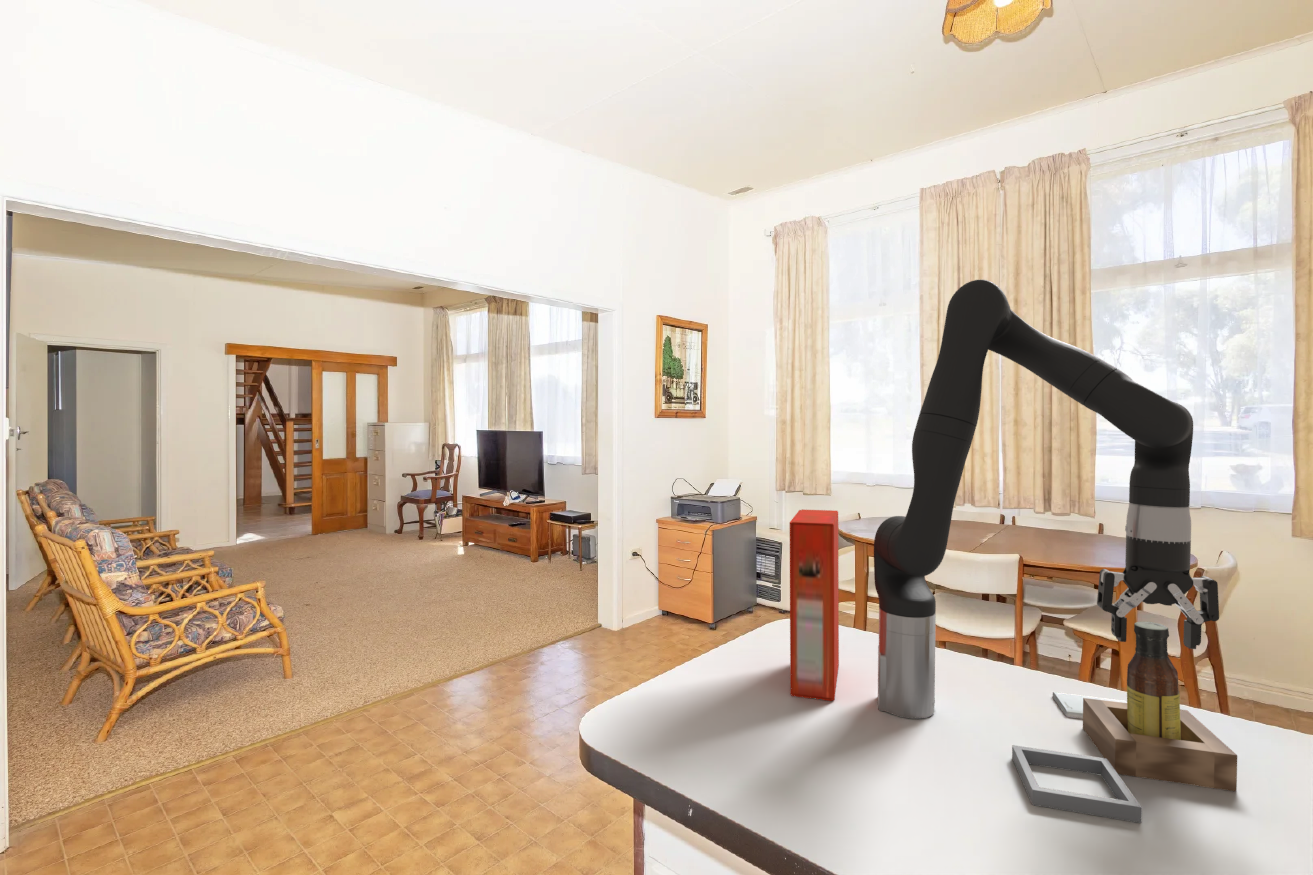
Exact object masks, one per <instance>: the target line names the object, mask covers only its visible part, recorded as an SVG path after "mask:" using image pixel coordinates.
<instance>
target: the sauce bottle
mask: <svg viewBox="0 0 1313 875" xmlns="http://www.w3.org/2000/svg"><path fill="white" fill-rule="evenodd" d="M1133 627H1134V628H1133V631H1134V634H1135V652H1134V655H1133V656H1132V658H1131V660H1130V661H1129V662H1128V664H1127V672H1126V673H1127V674H1126V701H1127V714H1128V732H1129V733H1130V734H1138V735H1145V736H1153V737H1161V738H1168V739H1176V740H1181V729H1180V709H1181V705H1180V704H1181V703H1180V702H1181V697H1180V690H1179V673H1178V670H1177V668H1176V667H1175V665H1174V664H1173V663H1172V661H1171V659H1170V658H1169V652H1168V638H1169V637H1170V632H1169V627H1168V626H1166V625H1164V624H1161V623H1157V622H1152V621H1137V622H1134V626H1133Z"/></svg>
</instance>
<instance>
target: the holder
mask: <svg viewBox="0 0 1313 875" xmlns="http://www.w3.org/2000/svg"><path fill="white" fill-rule="evenodd" d="M1082 729H1083V731H1084V732H1085V734H1086V735H1087V737H1088V738H1089V740H1091V742H1092V743H1093V745H1094V746H1095V748H1096V749H1097V750H1098V752H1099V753H1100V754H1101V756H1102V758H1107V759H1108V761H1109V762H1110V764H1111V765H1112V766H1113V768H1114V769H1115V771H1116V772H1117V773H1118V775H1121V776H1122V775H1123V776H1128V777H1135V778H1136V777H1137V778H1142V779H1148V780H1156V781H1162V782H1163V781H1164V782H1170V783H1175V784H1184V785H1190V786H1196V787H1202V788H1203V787H1204V788H1209V789H1217V790H1223V791H1230V792H1235V793H1236V792H1237V791H1238V790H1237V787H1238V786H1237V785H1238V784H1237V781H1238V780H1237V778H1238V754H1237V753H1236V752H1234V751H1233V750H1232V749H1231V748H1230V747H1229V746H1228V745H1227V744H1225V743H1224V742H1223V741H1222V740H1221V739H1220V738H1219V737H1218V736H1216V735H1215V734H1214V732H1212V731H1211V730H1210V729H1209V728H1208V727H1206V725H1204V724H1203V723H1202V722H1201V721H1200V720H1199V719H1198V718H1196V717H1195V715H1193V714H1192V713H1191V712H1190V711H1189V710H1187V709H1181V708H1180V729H1181V740H1176V739H1168V738H1161V737H1153V736H1145V735H1138V734H1130V733H1129V732H1128V714H1127V703H1122V702H1113V701H1105V700H1097V699H1088V698H1083V719H1082Z"/></svg>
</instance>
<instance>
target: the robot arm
mask: <svg viewBox="0 0 1313 875" xmlns="http://www.w3.org/2000/svg"><path fill="white" fill-rule="evenodd" d="M943 327H944V328H943V333H942V337H941V343H940V344H941V345H940V348H939V352H938V353H939V354H938V357H937V361H936V363H935V367H934V368H933V372H932V375H931V377H930V381H929V383H928V386H927V390H926V393H925V395H924V400H923V403H922V404H921V405H922V406H921V408H920V411H919V415H918V418H917V420H916V425H915V428H914V432H913V434H912V435H913V436H912V443H911V455H912V456H911V457H912V458H911V461H912V468H913V490H912V496H911V498H910V502H909V506H908V509H907V512H906V514H905V516H903V515H894V516H890V517H889V518H886V519H885V520H884V521H882V522H881V523H880V525H879V526H878V528H877V530H876V532H875V534H874V541H873V571H874V574H873V575H874V586H875V591H876V593H877V597H878V646H877V707H878V711H883V712H886V713H889V714H890V715H894V716H897V717H900V718H906V719H915V720H916V719H926V718H929V717H931V716H934V713H935V704H936V698H935V696H936V692H935V691H936V688H935V687H936V624H937V623H936V622H937V621H936V609H937V608H936V607H937V606H936V602H937V601H936V598H935V596H934V594H933V592H932V591H931V589H930V588H929V586H928V583H927V580H926V576H928V575H931V574H932V573H934V572H935V571H936V570H937V569H938V568H939V566H940V565H941V564H942V562H943V560H944V557H945V554H946V550H947V546H948V540H949V535H950V530H951V523H952V518H953V511H954V506H955V501H956V497H957V494H958V490H959V487H960V484H961V481H962V480H961V479H962V476H963V472H964V468H965V464H966V460H967V458H968V455H969V452H970V449H971V445H972V443H973V441H974V440H973V439H974V436H975V433H976V429H977V425H978V420H979V418H980V410H981V400H982V389H983V388H982V387H983V385H982V384H983V372H984V364H985V362H986V357H987V355H988V351H990V352H993V353H996V354H998V355H1000V356H1002V357H1004V358H1006V359H1008V360H1010V361H1012V362H1014V363H1016V364H1018V365H1019V366H1021V367H1022V368H1025V369H1026V370H1027V371H1030V372H1031V373H1033V374H1034V375H1036V376H1037V377H1039V378H1040V379H1042V380H1043V381H1045V382H1046V383H1048V384H1050V385H1051V386H1053V387H1054V389H1057V390H1058V391H1060V392H1061V393H1063V394H1064V395H1066V396H1068V397H1069V398H1071V399H1072V400H1074V401H1076V402H1077V403H1079V404H1080V405H1081V406H1084V407H1085V408H1087V409H1088V410H1091V411H1092V412H1094V413H1096V414H1098V415H1100V416H1102V418H1104V419H1105V420H1106V421H1108V422H1109V423H1110V424H1111V425H1113V426H1114V427H1115V428H1117V429H1119V431H1121V432H1122V433H1124V434H1125V435H1127V436H1128V437H1129V438H1131V439H1132V440H1134V464H1133V466H1132V469H1131V471H1130V474H1129V475H1130V476H1129V483H1128V484H1129V488H1128V489H1129V490H1128V491H1129V492H1128V502H1129V503H1128V508H1127V514H1126V524H1125V530H1124V531H1125V558H1124V559H1125V561H1124V562H1125V567H1124V569H1123V571H1122V572H1119V571H1117V572H1116V571H1111V570H1110V571H1109V569H1107V568H1102V569H1101V570H1100V571H1099V577H1098V579H1099V580H1098V588H1097V599H1096V606H1098V608H1100V609H1101V610H1103V611H1104V612H1108V613H1110V616H1111V621H1110V622H1111V627H1110V629H1111V630H1110V631H1111V633H1112V635H1113V636H1114V637H1115V638H1116V640H1117V641H1118V642H1119V643H1122V642H1123V643H1126V642H1127V634H1128V633H1127V632H1128V631H1127V630H1128V628H1127V626H1128V624H1127V623H1128V619H1127V618H1128V617H1126V615H1128V614H1129V613H1130V612H1131V611H1132V609H1134V608H1137V607H1138V606H1139V605H1140V604H1141V603H1144V604H1147V605H1156V604H1159V605H1163V606H1167V607H1169V606H1171V607H1172V606H1173V605H1175V606H1176V607H1177V608H1178V609H1179V610H1180V611H1181V613H1183V615H1184V616H1185V618H1186V619H1184V620H1183V639H1182V640H1183V645H1184V647H1186V648H1188V649H1191V650H1196V649H1197V646H1200V645H1201V643H1202V625H1203V624H1204V623H1206V622H1211V621H1212V622H1217V621H1219V620H1220V609H1219V607H1220V606H1219V605H1220V604H1219V602H1220V601H1219V585H1218V581H1217V580H1215V579H1213V578H1211V577H1208V576H1206V575H1202V576H1200V577H1192V576H1191V573H1190V571H1191V557H1192V556H1191V553H1192V552H1191V548H1192V545H1191V544H1192V518H1191V509H1190V505H1191V504H1190V500H1191V498H1190V496H1191V479H1190V469H1189V468H1190V463H1191V456H1192V446H1193V438H1194V420H1193V416H1192V415H1191V412H1190V411H1189V410H1188V409H1187V408H1186V407H1185V406H1184V405H1182V404H1180V403H1178V402H1175V401H1173V400H1170V399H1168V398H1166V397H1165V396H1162V395H1160V394H1158V393H1157V392H1155V391H1153V390H1151V389H1149V388H1148V387H1146V386H1144V385H1142V384H1139V383H1138V382H1137V381H1134V380H1133V379H1132V378H1131V377H1130V376H1129V375H1127V374H1126V373H1125V372H1123V371H1122V370H1120V369H1119V368H1117V367H1115V366H1114V365H1112V364H1110V363H1108V362H1107V361H1105V360H1104V359H1101V358H1100V357H1098V356H1096V355H1095V354H1092V353H1091V352H1089V351H1086V350H1084V349H1083V348H1080V347H1078V346H1075V345H1073V344H1070V343H1066V342H1064V341H1063V340H1059V339H1056V338H1053V337H1052V336H1049V335H1048V334H1045V333H1043V332H1042V331H1039V330H1038V329H1036V328H1035V327H1033V326H1032V325H1030V324H1029V323H1027V321H1025V320H1024V319H1023V318H1021V317H1020V316H1019V315H1018V314H1017V313H1016V312H1015V311H1014V310H1012V309H1011V306H1010V303H1009V301H1008V298H1007V295H1006V294H1005V293H1004V291H1003V290H1002V288H1000V287H999V286H998V285H997V284H996V283H995V282H993V281H991V280H987V279H974V280H970V281H968V282H966V283H965V284H963V285H962V286H960V287H959V288H958V289H957V290H956V291H955V292H954V294H953V295H952V297H951V298H950V300H949V302H948V305H947V310H946V315H945V321H944V326H943ZM1121 581H1123V583H1124V584H1125V585H1126V587H1127V588H1126V589H1125V590H1124V591H1123V592H1122V593H1121V594H1120V595H1119V598H1118V599H1117V600H1116V601H1115V602H1114V603H1113V598H1114V590H1115V587H1117V586H1119V584H1120V582H1121ZM1193 587H1195V591H1197V592H1199V605H1200V606H1199V608H1200V610H1197V609H1196V607H1195V606H1194V605H1193V603H1192V602H1191V601H1190V600H1189V599H1188V597H1187V596H1186V594H1187V593H1188V592H1189V591H1190V590H1191V589H1192V588H1193Z"/></svg>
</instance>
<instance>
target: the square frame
mask: <svg viewBox="0 0 1313 875" xmlns="http://www.w3.org/2000/svg"><path fill="white" fill-rule="evenodd" d="M1011 758H1012V761H1013V764H1014V766H1015V768H1016V770H1017V773H1018V776H1019V777H1020V779H1021V782H1022V784H1023V787H1024V788H1025V791H1026V794H1027V797H1028V798H1029V801H1030V802H1031V805H1032V806H1038V807H1044V808H1050V809H1054V810H1055V809H1056V810H1062V811H1065V812H1066V811H1068V812H1073V813H1078V814H1079V813H1080V814H1084V815H1085V814H1086V815H1091V816H1097V817H1103V818H1109V819H1115V820H1119V821H1120V820H1121V821H1126V822H1127V821H1128V822H1131V823H1139V824H1142V819H1143V818H1142V812H1143V807H1142V806H1141V804H1140V803H1139V801H1138V800H1137V799H1136V797H1135V796H1134V794H1133V793H1132V792H1131V790H1130V789H1129V787H1128V786H1127V785H1126V783H1125V781H1124V780H1123V779H1122V778H1121V776H1120V774H1118V773H1117V772H1116V771H1115V769H1114V768H1113V766H1112V765H1111V764H1110V762H1109V761H1108V759H1107V758H1103V757H1099V756H1091V755H1085V754H1078V753H1072V752H1071V753H1070V752H1064V751H1059V750H1058V751H1056V750H1049V749H1043V748H1037V747H1029V746H1022V745H1015V744H1013V745H1011ZM1030 765H1034V766H1040V767H1048V768H1054V769H1059V770H1067V771H1074V772H1080V773H1084V774H1085V773H1086V774H1091V775H1098V776H1099V775H1100V776H1101V777H1102V779H1103V780H1104V782H1105V783H1106V784H1107V786H1108V788H1109V790H1110V791H1111V793H1112V794H1113V796H1114V797H1115V798H1110V797H1105V796H1098V795H1093V794H1087V793H1079V792H1074V791H1073V792H1072V791H1068V790H1067V791H1066V790H1061V789H1055V788H1049V787H1042V786H1039V784H1038V781H1037V779H1036V778H1035V775H1034V773H1033V771H1032V769H1031V766H1030Z"/></svg>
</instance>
